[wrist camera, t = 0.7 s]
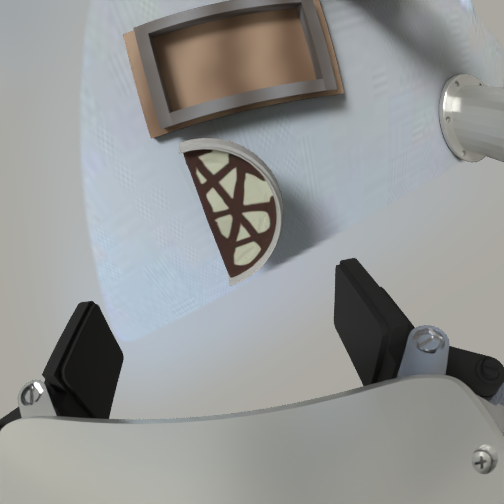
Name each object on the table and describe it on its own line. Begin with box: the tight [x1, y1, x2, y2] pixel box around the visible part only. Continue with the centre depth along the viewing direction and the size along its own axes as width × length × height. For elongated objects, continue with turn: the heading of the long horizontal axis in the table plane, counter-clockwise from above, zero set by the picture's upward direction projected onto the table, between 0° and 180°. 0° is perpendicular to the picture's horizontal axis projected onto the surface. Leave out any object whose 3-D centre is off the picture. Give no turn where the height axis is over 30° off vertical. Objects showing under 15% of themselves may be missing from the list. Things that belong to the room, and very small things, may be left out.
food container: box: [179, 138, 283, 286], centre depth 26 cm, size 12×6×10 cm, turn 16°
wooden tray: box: [123, 0, 344, 138], centre depth 23 cm, size 20×12×3 cm, turn 104°
